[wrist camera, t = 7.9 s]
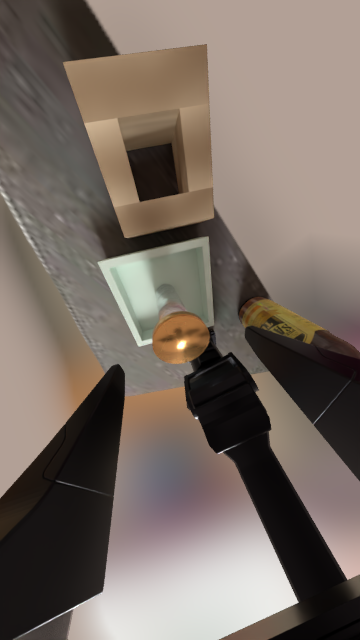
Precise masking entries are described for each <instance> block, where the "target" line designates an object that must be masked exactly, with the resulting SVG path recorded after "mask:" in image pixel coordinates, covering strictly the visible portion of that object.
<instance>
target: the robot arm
mask: <svg viewBox="0 0 360 640" xmlns="http://www.w3.org/2000/svg"><path fill="white" fill-rule="evenodd" d="M212 333H213V334H212ZM209 334H210V340H209V344H208V346H207V348H206V349H205V351H204V352H203V353H202V354H201V355H200V356H198V357H197V358H195V359H193V360H191V361H189V362H188V363H191V365H192V368H193V371H194V372H193V373H191V374H189V375H186V376H184V379H185V381H184V383H185V393H186V401H187V408H188V409H189V410H191V412H192V414H193V416H194V417H195V418H196V419H197V420H199V421H200V423H201V425H202V428H203V430H204V433H205V436H206V438H207V441H208V443H209V446H210V447H211V448H212V449H213V450H214V451H215V452H216V453H217V454H219V453H222V452H223V453H224V454H225V455H227V456H228V457H229V458H230V459H231V460H232V461H233V462H234V463H235V465H236V467H237V469H238V471H239V473H240V475H241V478H242V480H243V482H244V484H245V486H246V489H247V491H248V493H249V495H250V497H251V499H252V502H253V504H254V506H255V508H256V510H257V513H258V515H259V517H260V519H261V521H262V523H263V526H264V528H265V530H266V532H267V534H268V536H269V539H270V541H271V543H272V545H273V547H274V549H275V552H276V554H277V556H278V558H279V561H280V563H281V565H282V567H283V569H284V572H285V574H286V576H287V578H288V580H289V582H290V584H291V587H292V589H293V591H294V593H295V596H296V597H297V600H298V602H299V603H297V604H295V605H293V606H291V607H288V608H286V609H284V610H282V611H280V612H278V613H276V614H273V615H271V616H269V617H267V618H265V619H263V620H260V621H258V622H256V623H254V624H252V625H250V626H247V627H245V628H243V629H241V630H239V631H237V632H235V633H232V634H230V635H228V636H226V637H224V638H222V639H219V640H360V575H358V576H356V577H353V578H351V579H349V580H347V578H346V577H345V575H344V573H343V572H342V570H341V568H340V567H339V564H338V563H337V561H336V559H335V558H334V556H333V554H332V552H331V551H330V549H329V547H328V546H327V544H326V542H325V540H324V539H323V537H322V535H321V534H320V532H319V530H318V528H317V527H316V525H315V523H314V521H313V520H312V518H311V517H310V515H309V513H308V511H307V509H306V508H305V506H304V504H303V502H302V501H301V499H300V497H299V496H298V494H297V492H296V491H295V489H294V487H293V485H292V483H291V482H290V480H289V478H288V477H287V475H286V473H285V471H284V470H283V468H282V466H281V465H280V463H279V461H278V459H277V458H276V456H275V454H274V452H273V451H272V449H271V447H270V441H269V431H270V430H271V424H270V418H269V416H268V414H267V411H266V409H265V408H264V406H263V405H262V403H261V401H260V400H259V398H258V396H257V395H256V393H255V392H256V391H258V390H259V389H258V387H257V385H256V383H255V381H254V380H253V378H252V377H251V375H250V374H249V372H248V371H247V369H246V368H245V367H244V366H243V365H242V363H241V362H240V361H239V360H238V359H237V358H236V357H235V356H234V355H233V353H232V352H230V353H228V355H226V356H224V357H223V356H222V354H221V353H220V351H219V350H218V348H217V347H216V337H215V332H214V331H210V332H209ZM245 338H246V340H247V342H248V343H249V345H250V346H251V348H252V349H253V351H254V352H255V354H256V355H257V357H258V358H259V359H260V360H261V362H262V363H263V364H264V365H265V366H266V368H267V369H268V370H269V371H270V372H271V374H272V375H273V376H274V377H275V379H276V380H277V381H278V382H279V383H280V385H281V386H282V387H283V388H284V390H285V391H286V392H287V393H288V394H289V396H290V397H291V398H292V399H293V400H294V402H295V403H296V404H297V405H298V407H299V408H300V409H301V410H302V411H303V412H304V414H305V415H306V416H307V418H308V419H309V420H310V421H311V422H312V424H314V426H315V427H316V429H317V430H318V431H319V432H320V434H321V435H322V436H323V437H324V438H325V440H326V441H327V442H328V443H329V444H330V446H331V447H332V448H333V449H334V450H335V452H336V453H337V454H338V455H339V457H340V458H341V459H342V460H343V461H344V463H345V464H346V465H347V466H348V468H349V469H350V470H351V471H352V472H353V474H354V475H355V476H356V477H357V478H358V480H359V481H360V359H359V358H355V357H351V356H348V355H344V354H341V353H337V352H334V351H331V350H327V349H324V348H321V347H318V346H314V345H312V344H308V343H305V342H302V341H299V340H296V339H293V338H290V337H287V336H284V335H280V334H277V333H274V332H271V331H268V330H265V329H262V328H259V327H256V326H252V325H251V326H247V327H246V328H245ZM124 397H125V373H124V371H123V369H122V368H121V366H120V365H119V364H116V365H113V366H111V368H110V369H109V370H108V371H107V373H106V374H105V375H104V376H103V378H102V379H101V380H100V381H99V382H98V384H97V385H96V386H95V387H94V389H93V390H92V391H91V392H90V394H89V395H88V396H87V397H86V398H85V400H84V401H83V402H82V403H81V405H80V406H79V407H78V408H77V410H76V411H75V412H74V413H73V415H72V416H71V417H70V418H69V419H68V421H67V422H66V424H65V425H64V426H63V427H62V428H61V429H60V431H59V432H58V433H57V434H56V435H55V437H54V438H53V439H52V440H51V441H50V443H49V444H48V445H47V446H46V447H45V449H44V450H43V451H42V452H41V453H40V454H39V455H38V457H37V458H36V459H35V460H34V461H33V462H32V463H31V465H30V466H29V467H28V468H27V469H26V470H25V471H24V472H23V473H22V475H21V476H20V477H19V478H18V479H17V480H16V481H15V482H14V484H13V485H12V486H11V487H10V488H9V489H8V490H7V491H6V493H5V494H4V495H3V496H2V497H1V498H0V640H68V639H67V638H68V633H69V628H70V624H71V619H72V614H73V609H74V608H75V607H77V606H79V605H80V604H83V603H84V602H86V601H88V600H90V599H92V598H94V597H96V596H97V595H99V594H101V593H102V592H103V587H104V579H105V570H106V561H107V553H108V544H109V534H110V526H111V517H112V508H113V499H114V497H113V496H114V489H115V480H116V471H117V461H118V454H119V445H120V436H121V427H122V418H123V409H124V400H125V398H124Z"/></svg>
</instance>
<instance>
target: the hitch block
mask: <svg viewBox="0 0 360 640" xmlns="http://www.w3.org/2000/svg"><path fill="white" fill-rule="evenodd" d="M63 64H64V67H65V70H66V73H67V76H68V78H69V81H70V84H71V87H72V90H73V93H74V95H75V98H76V101H77V104H78V107H79V110H80V112H81V115H82V118H83V121H84V124H85V127H86V129H87V132H88V135H89V138H90V141H91V144H92V146H93V149H94V152H95V155H96V158H97V161H98V163H99V166H100V169H101V172H102V175H103V178H104V180H105V183H106V186H107V189H108V192H109V195H110V197H111V200H112V203H113V206H114V209H115V212H116V214H117V217H118V220H119V223H120V226H121V229H122V231H123V234H124V237H125V238H134V237H139V236H143V235H147V234H152V233H156V232H161V231H165V230H170V229H174V228H179V227H183V226H188V225H192V224H197V223H201V222H204V221H207V220H209V219H212V218H214V204H213V180H212V157H211V136H210V135H211V134H210V110H209V88H208V87H209V86H208V62H207V44H205V45H197V46H189V47H182V48H173V49H165V50H157V51H149V52H141V53H133V54H125V55H117V56H109V57H101V58H93V59H85V60H77V61H69V62H63ZM170 143H172V150H173V157H174V164H175V170H176V177H177V184H178V191H179V194H177V195H172V196H167V197H162V198H157V199H153V200H148V201H143V202H140V201H139V198H138V194H137V190H136V186H135V183H134V179H133V175H132V171H131V168H130V164H129V160H128V157H127V153H126V151H130V150H135V149H141V148H147V147H153V146H158V145H164V144H170Z"/></svg>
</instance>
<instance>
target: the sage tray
mask: <svg viewBox="0 0 360 640" xmlns="http://www.w3.org/2000/svg"><path fill="white" fill-rule="evenodd" d="M98 264H99V266H100V268H101V270H102V272H103V274H104V277H105V279H106V281H107V283H108V285H109V287H110V289H111V291H112V293H113V295H114V297H115V299H116V301H117V303H118V305H119V307H120V309H121V311H122V313H123V315H124V318H125V320H126V322H127V324H128V326H129V328H130V330H131V332H132V334H133V336H134V338H135V340H136V342H137V344H138V346H139V347H140V346H143V345H147V344H150V343H152V333H153V330H154V327H155V325H156V324H157V323H158V321H159V317H158V309H157V302H156V290H157V288H158V287H159V286H160V285H162V284H170V285H172V286H173V287H174V288H175V290H176V292H177V293H178V295H179V297H180V299H181V301H182V302H183V304H184V306H185V308H186V310H187V312H191V313H194V314H196V315H197V316H199V317H200V318H201V319H202V321H203V322H204V324H205V325H206V327H210V326H214V313H213V298H212V282H211V267H210V251H209V236H208V237H198V238H193V239H189V240H185V241H180V242H176V243H172V244H167V245H163V246H159V247H154V248H150V249H146V250H141V251H137V252H133V253H128V254H124V255H120V256H115V257H111V258H107V259H104V260H102V261H99V262H98Z"/></svg>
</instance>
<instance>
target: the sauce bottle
mask: <svg viewBox="0 0 360 640" xmlns="http://www.w3.org/2000/svg"><path fill="white" fill-rule="evenodd" d="M239 319H240V321H241V323H242V324H243V326H244V327H245V328H246V327H247V326H251V325H252V326H256V327H259V328H262V329H265V330H268V331H271V332H274V333H277V334H280V335H284V336H287V337H290V338H293V339H296V340H299V341H302V342H305V343H308V344H312V345H314V346H318V347H321V348H324V349H327V350H331V351H334V352H337V353H341V354H344V355H348V356H351V357H355V358H359V359H360V352H359V351H358V350H357V349H356V348H355V347H354V346H352V345H351V344H349V343H348V342H346V341H344V340H342V339H340V338H338V337H336V336H334V335H332V334H331V333H330V332H329V331H327V330H325V329H324V328H321V327H319V326H318V325H316V324H314V323H312V322H310V321H308V320H307V319H305V318H303V317H301V316H299V315H297V314H295V313H294V312H292V311H290V310H288V309H286V308H284V307H282V306H281V305H278V304H277V303H275V302H273V301H271V300H268V299H266V298H263V297H254V298H251V299H250V300H248V301H247V302H246V303H245V304H244V305H243V306H242V308H241V310H240V312H239Z"/></svg>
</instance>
